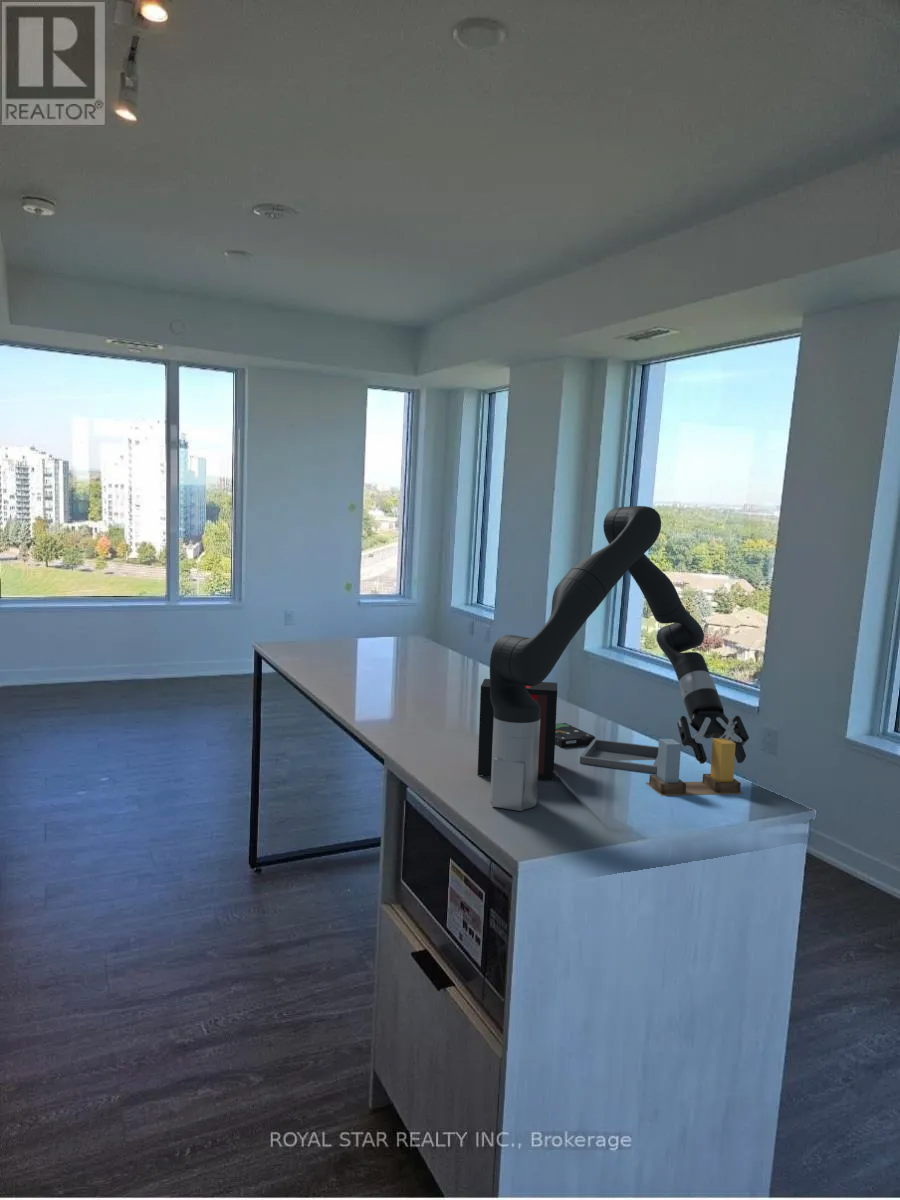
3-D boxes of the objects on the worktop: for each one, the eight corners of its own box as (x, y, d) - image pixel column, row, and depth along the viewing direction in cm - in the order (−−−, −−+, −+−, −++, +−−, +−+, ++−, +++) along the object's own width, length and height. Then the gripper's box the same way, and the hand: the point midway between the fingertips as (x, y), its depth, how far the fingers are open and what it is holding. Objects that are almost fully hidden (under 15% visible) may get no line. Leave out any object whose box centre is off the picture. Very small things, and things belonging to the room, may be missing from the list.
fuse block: (743, 800, 160) (744, 784, 160) (661, 802, 157) (662, 785, 157) (724, 787, 168) (725, 772, 168) (645, 789, 165) (646, 773, 165)
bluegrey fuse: (678, 791, 160) (680, 744, 159) (664, 792, 159) (667, 744, 158) (669, 785, 164) (672, 738, 163) (656, 785, 163) (658, 739, 162)
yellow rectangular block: (732, 790, 162) (735, 743, 161) (719, 790, 161) (722, 743, 160) (722, 784, 166) (725, 738, 165) (709, 784, 165) (712, 738, 164)
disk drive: (595, 747, 199) (564, 732, 213) (596, 736, 199) (565, 721, 212) (561, 750, 195) (531, 734, 209) (561, 739, 195) (532, 724, 208)
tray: (655, 780, 172) (656, 766, 171) (579, 769, 178) (579, 756, 177) (663, 759, 187) (664, 747, 187) (593, 750, 194) (594, 738, 193)
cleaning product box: (553, 769, 178) (557, 682, 176) (553, 781, 169) (557, 690, 167) (481, 763, 180) (484, 678, 178) (477, 775, 171) (480, 686, 169)
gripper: (676, 686, 169) (697, 753, 159) (736, 686, 171) (762, 752, 161) (664, 705, 175) (684, 770, 164) (723, 704, 177) (746, 769, 167)
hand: (722, 761), depth 163 cm, fingers open, 8 cm apart
